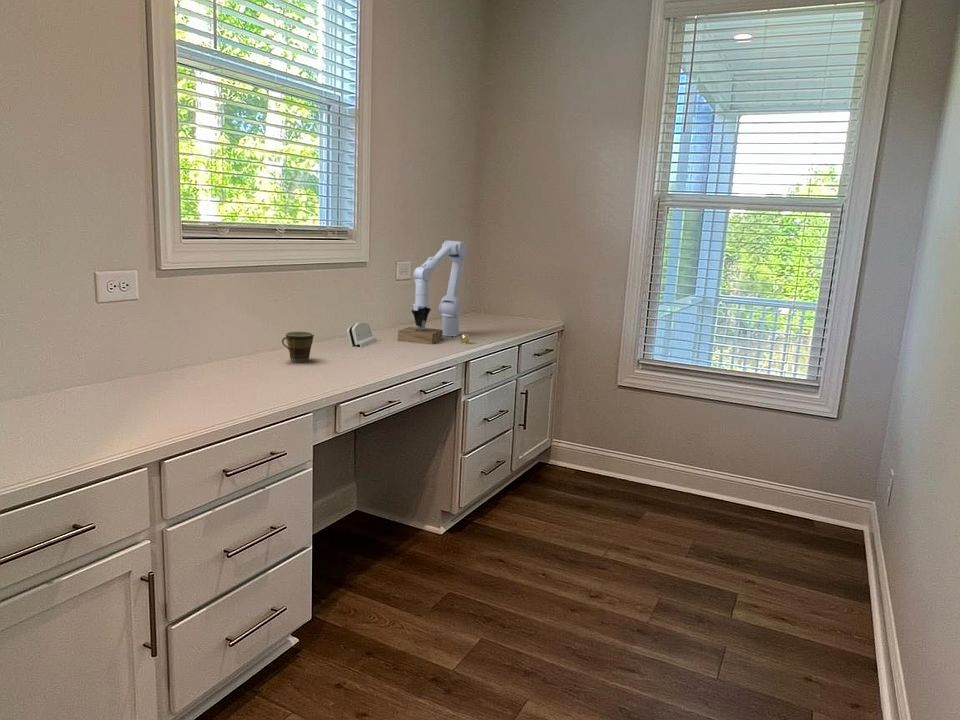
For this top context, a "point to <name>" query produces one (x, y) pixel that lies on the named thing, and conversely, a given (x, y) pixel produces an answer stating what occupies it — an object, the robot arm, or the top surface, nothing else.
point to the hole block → (420, 335)
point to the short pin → (465, 338)
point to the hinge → (360, 334)
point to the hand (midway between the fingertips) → (420, 324)
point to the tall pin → (422, 326)
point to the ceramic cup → (299, 345)
